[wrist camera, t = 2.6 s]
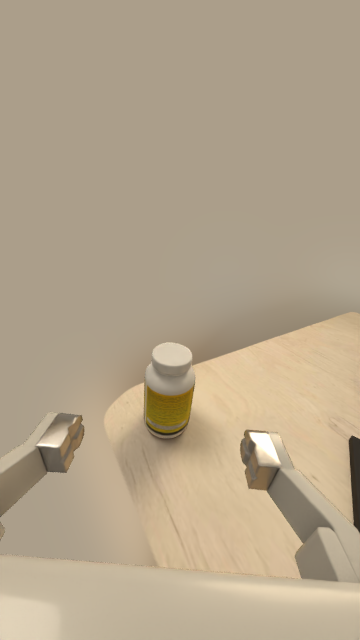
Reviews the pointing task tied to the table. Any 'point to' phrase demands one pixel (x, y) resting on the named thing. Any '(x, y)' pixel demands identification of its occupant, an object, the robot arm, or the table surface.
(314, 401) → the table surface
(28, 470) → the robot arm
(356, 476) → the dock pad
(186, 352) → the pill bottle
